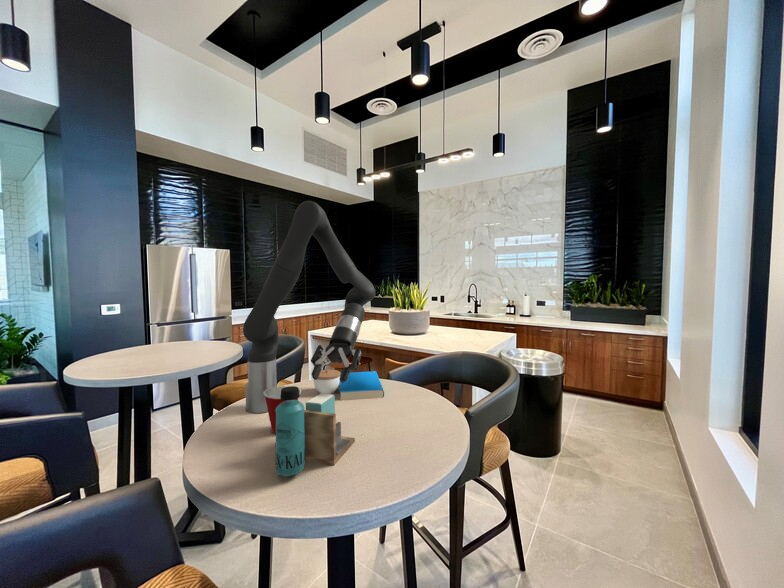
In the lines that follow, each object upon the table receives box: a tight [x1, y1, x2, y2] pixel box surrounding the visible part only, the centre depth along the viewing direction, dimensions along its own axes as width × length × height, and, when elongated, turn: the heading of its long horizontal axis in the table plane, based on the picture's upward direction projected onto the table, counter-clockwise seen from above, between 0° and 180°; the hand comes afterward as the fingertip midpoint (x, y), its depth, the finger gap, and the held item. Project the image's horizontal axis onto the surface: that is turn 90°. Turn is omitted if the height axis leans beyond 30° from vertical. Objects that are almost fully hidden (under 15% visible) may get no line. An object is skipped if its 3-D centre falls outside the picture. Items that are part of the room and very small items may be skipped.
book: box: [339, 370, 385, 401], centre depth 132 cm, size 17×4×25 cm
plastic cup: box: [263, 385, 302, 435], centre depth 95 cm, size 11×11×12 cm
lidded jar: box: [313, 368, 341, 395], centre depth 128 cm, size 11×11×9 cm
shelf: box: [304, 409, 356, 466], centre depth 84 cm, size 16×12×12 cm
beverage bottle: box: [274, 385, 306, 477], centre depth 72 cm, size 6×7×20 cm
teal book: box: [305, 393, 336, 414], centre depth 84 cm, size 4×7×12 cm, turn 162°
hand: (327, 380), depth 88 cm, fingers open, 8 cm apart
